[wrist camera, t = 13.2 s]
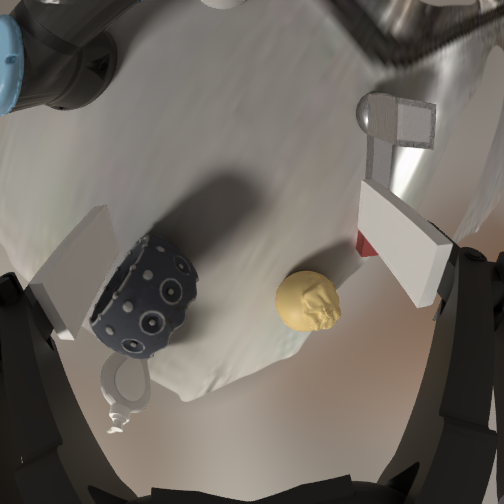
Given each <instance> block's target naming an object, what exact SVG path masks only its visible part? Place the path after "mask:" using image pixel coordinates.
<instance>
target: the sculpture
mask: <svg viewBox="0 0 504 504" xmlns="http://www.w3.org/2000/svg"><path fill="white" fill-rule="evenodd" d="M275 303H276V309H277V312H278V314H279V316H280V318H281V319H282V321H283V322H284V323H285V324H286V325H287V326H289V327H290V328H292V329H294V330H297V331H302V332H307V331H313V330H320V329H322V328H324V329H329V328H331V327H333V326H334V324H335V323H336V322H337V320H338V319H339V317H340V316H341V310H340V308H339V297H338V295H337V293H336V288H335V286H334V285H333V283H332V282H331V281H329V280H328V279H327V278H326V277H325V276H324V275H323V274H318V273H316V272H313V271H300V272H296V273H294V274H292V275H290V276H288V277H287V278H286V279H285V280H284V281H283V282H282V283H281V284H280V286H279V288H278V290H277V293H276V298H275Z"/></svg>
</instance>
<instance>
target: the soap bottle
mask: <svg viewBox="0 0 504 504" xmlns="http://www.w3.org/2000/svg"><path fill="white" fill-rule="evenodd" d="M147 360H148V359H135V358H130V357H127V356H124V355H122V354H120V353H118V352H116V351H115V352H114V353H113V354H112V355H111V356H110V357H109V358H108V359H107V361H106V362H105V363H104V365H103V367H102V370H101V389H102V392H103V395H104V397H105V398H106V400H107V401H108V402H109V403H110V405H111V408H110V413H109V415H110V417H112V420H113V426H112V427H111V429H110V430H108V431H107V433H113V432H115V431H118V432H122V431H123V430H122V428H123V424H125V423H126V422H129V420H130V414H131V413H139V412H140V411H142V410H144V409H145V407H146V406H147V404H148V402H149V399H150V395H151V384H150V375H149V369H148V363H147Z"/></svg>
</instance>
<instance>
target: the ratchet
mask: <svg viewBox="0 0 504 504" xmlns="http://www.w3.org/2000/svg"><path fill="white" fill-rule="evenodd" d="M368 94H372V95H382V96H391V97H394V96H393V95H391V94H387V93H378V92H372V93H368ZM368 94H366V95H365V96H363V97H362V98H361V100H360V101H359V103H358V105H357V109H356V117H357V121H358V124H359V126H360V128H361V129H362V130H363V131H364V132H365V133H366V134H367V130H368ZM391 159H392V144H390V143H388V142H385V141H383V140H380V139H378V138H375V137H373V136H370V135H368V134H367V159H366V175H365V180H376V181H377V182H378V183H380V184H381V185H383V186H384V187H385V188H387V189H388V190H389V181H390V171H391ZM356 250H357V251H358V253H359V254H360V256H361V257H367V256H375V255H379V254H378V253H377V252H376V250H375V249H374V248H373V247H372V245H371V244H370V243H369V242H368V240H367V239H366V238H365V237H364V235H363V234H362V233H361V232H360V230H359V229H358V237H357V244H356Z"/></svg>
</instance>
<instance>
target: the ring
mask: <svg viewBox="0 0 504 504" xmlns="http://www.w3.org/2000/svg"><path fill="white" fill-rule="evenodd" d="M197 281H199V278H198V275H197V272H196V270H195V268H194V267H193V265H192V263H191V262H190V260H189V259H188V258H187V257H186V256H184V255H183V254H182V253H181V252H180V251H179V250H178V249H177V248H176V247H175V246H173V245H172V244H170V243H168V242H167V241H166V240H165V238H163V237H157V238H156V237H151V236H150V235H146V236H145V237H144V238H141V239H140V240H139V242H138V244H137V245H136V246H135V247H134V248H133V249H132V250H130V251H129V254H128V255H127V257H126V258H125V259H124V261H123V262H122V263H121V265H120V266H119V267H117V268H116V272H115V274H114V275H113V276H112V278H111V280H110V281H109V283H108V284H107V286H105V287H104V291H103V293H102V295H101V297H100V299H99V301H98V302H97V304H95V306H94V308H95V309H94V311H93V314H92V316H91V317H90V318H89V322H90V324H89V325H90V327H91V328H92V330H93V331H94V333H95V334H96V337H97V339H98V340H99V341H100V342H103V343H104V344H105V345H106V346H108V347H109V348H110V349H112V350H114V351H116V352H118V353H120V354H122V355H124V356H127V357H130V358H135V359H149V358H152V357H154V353H155V352H157V351H158V350H161V349H164V348H166V347H167V345H168V344H169V343H170V337H171V335H172V334H173V332H174V331H175V330H176V329H178V328H179V327H181V326H183V324H184V322H185V320H186V314H187V309H188V306H189V304H190V303H191V302H192V301H194V300H195V299H196V296H197V288H196V282H197Z"/></svg>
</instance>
